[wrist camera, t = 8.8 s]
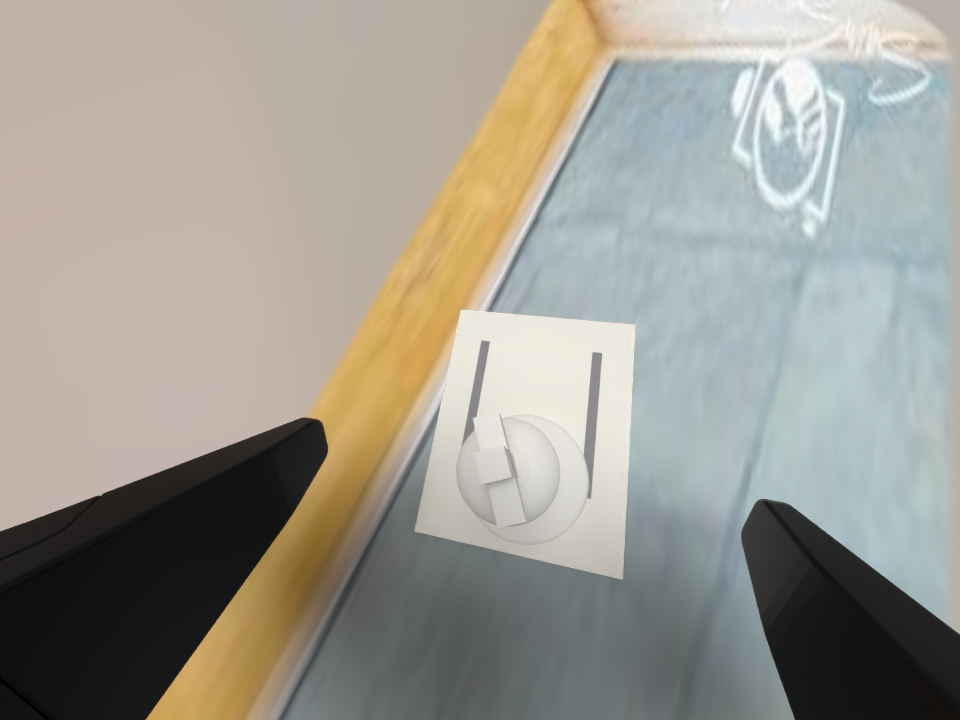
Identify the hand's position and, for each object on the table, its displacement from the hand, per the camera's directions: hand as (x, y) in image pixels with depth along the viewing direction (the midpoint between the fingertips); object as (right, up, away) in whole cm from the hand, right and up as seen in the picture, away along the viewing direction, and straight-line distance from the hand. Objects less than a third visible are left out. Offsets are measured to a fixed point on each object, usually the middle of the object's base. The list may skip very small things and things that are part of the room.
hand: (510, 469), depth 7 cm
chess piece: (+1, -2, +7) cm, 7 cm away
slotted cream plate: (+2, -1, +8) cm, 8 cm away
